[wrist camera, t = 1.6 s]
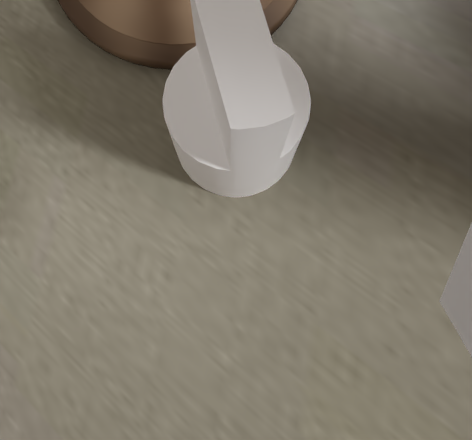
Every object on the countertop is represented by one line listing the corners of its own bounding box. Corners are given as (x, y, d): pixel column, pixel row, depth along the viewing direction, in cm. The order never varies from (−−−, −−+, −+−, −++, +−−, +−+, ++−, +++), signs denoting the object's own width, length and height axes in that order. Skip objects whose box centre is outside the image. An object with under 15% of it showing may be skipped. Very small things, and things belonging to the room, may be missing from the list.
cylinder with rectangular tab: (163, 98, 32) (123, -22, 20) (277, 72, 33) (303, -61, 21) (190, 210, 30) (166, 150, 19) (310, 180, 31) (360, 103, 19)
